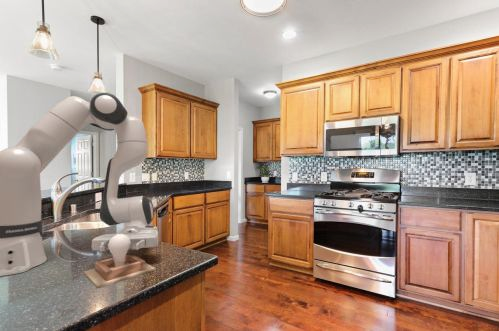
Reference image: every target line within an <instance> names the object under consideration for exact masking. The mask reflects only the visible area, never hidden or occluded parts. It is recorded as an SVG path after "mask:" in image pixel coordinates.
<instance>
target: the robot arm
mask: <svg viewBox="0 0 499 331" xmlns="http://www.w3.org/2000/svg"><path fill="white" fill-rule="evenodd" d="M128 113H129V112H128V111H127V109H126V108H125V107H124V105H123V103H122V101H120V99H119V98H118V97H117V96H116V95H114V94H112V93H109V92H99V93H96V94H95V95H94V96H93V97H92V98H91V100H90V101H87V100H85V99H84V98H82V97H79V96H76V95H71V96H69V97H67V98H64V99H63V100H62V101H60V102H59V103H57V104H56V105H54V107H52V108H51V109H50V110H48V112H47V113H45V114H44V115H43V116H42V117H41V118H39V120H37V122H35V123H34V124H33V125H32V126H31V127H30V128H29V130H28V131H27V133H26V134H25V135H24V136H23V137H22V138H21V139H20V140H19V141H18V143H17V144H16V145H15V146H11V147H7V148H4V149H2V150H0V277H4V276H10V275H15V274H20V273H24V272H27V271H29V270H30V269H32V268H35V267H37V266H40V265H42V264H43V263H46V262H47V260H48V258H47V256H46V253H45V252H46V251H45V248H44V243H43V235H44V221H43V220H42V190H41V189H42V187H41V173H42V172H43V171H44V170H45V169H47V168H46V167H48V166H49V164H50V163H51V162H52V161H54V159H56V156H57V155H59V154H60V153H61V152H62V150H63V149H64V148H65V147H66V146H67V145H68V144H69V143H70V142H71V141H72V139H74V138H75V136H76V135H78V134H79V133H80V131H81V130H82V129H83V128H85V127H86V126H87V125H89V124H90V125H91V126H93V127H96V128H98V129H101V130H104V131H110V132H112V131H114V132H115V134H116V135H115V136H116V151H115V154H114V156H113V157H112V158H110V159H109V161H108V164H107V168H106V172H105V180H104V187H103V194H102V201H101V204H100V208H99V218H100V221H102V222H103V223H104V224H106V225H107V226H110V227H111V226H116V225H121V224H127V225H125V226H124V227H123V228H122V229H120V231H119V233H106V234H101V235H99V236H96V237H93V239H92V240H91V250H92V251H94V252H95V251H99V253H102V252H103V253H104V252H107V251H110V250H109V248H108V244H109V241H110V239H111V238H112V237H113V236H115V235H118V234H124V235H126V236H128V237H129V239H130V242H131V244H130V247H129V249H128V251H135V250H136V251H138V250H139V249H145V248H147V249H148V248H157V247H158V246H159V230H158V227H157V226H153V225H154V224H153V220H154V217H155V209H154V204H153V202H152V201H151V200H150V198H148V197H147V196H146V195H140V196H132V197H123V198H122V197H121V198H118V191H119V184H120V183H119V182H120V177H122V175H123V174H124V173H125V172H127V171H129V170H131V169H133V168H136V167H137V166H139V165H141V164H142V163H144V162H145V160H146V159H147V157H148V152H149V149H148V148H149V147H148V138H147V132H146V131H147V130H146V128H145V124H144V122H143V120H141V119H140V118H138V117H136V116H129V115H128ZM128 223H129V224H128Z"/></svg>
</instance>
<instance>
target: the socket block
mask: <svg viewBox="0 0 499 331" xmlns="http://www.w3.org/2000/svg"><path fill="white" fill-rule="evenodd" d="M154 271H155V272H156V267H154V266H152V265H151V264H149V263H147V262H146V261H145V259H142V258H140V257H139V256H137V255H135V254H133V253H126V257H125V261H124V266H120V267H116V268H115V262H114V258H113V257H111V258H106V259H103V260H98V261H94V268H92V269H91V268H90V269H88V270H85V271H83V274H84V275H85V277H87V279H88V280H89V281H90V282H91V283H92V284H93V285H94V286H95V287H96V289H100V288H102V287H107V286H108V285H112V284H116V283H119V282H123V281H125V280H128V279H131V278H132V279H133V278H135V277H139V276H142V275H144V274H148V273H152V272H154Z"/></svg>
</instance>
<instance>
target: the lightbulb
mask: <svg viewBox="0 0 499 331" xmlns="http://www.w3.org/2000/svg"><path fill="white" fill-rule="evenodd" d="M117 234H118V235H115V236H113V237H112V238H111V239H110V241H109V244H108V248H109V250H108V251H109V252H110V254H111V255H112V258H114V262H115V268H116V267H120V266H124V261H125V257H126V255H127V254H128V251H129V250H128V249H129V247H130V244H131V242H130V239H129V237H128V236H126V235H124V234H119V233H117Z"/></svg>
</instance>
